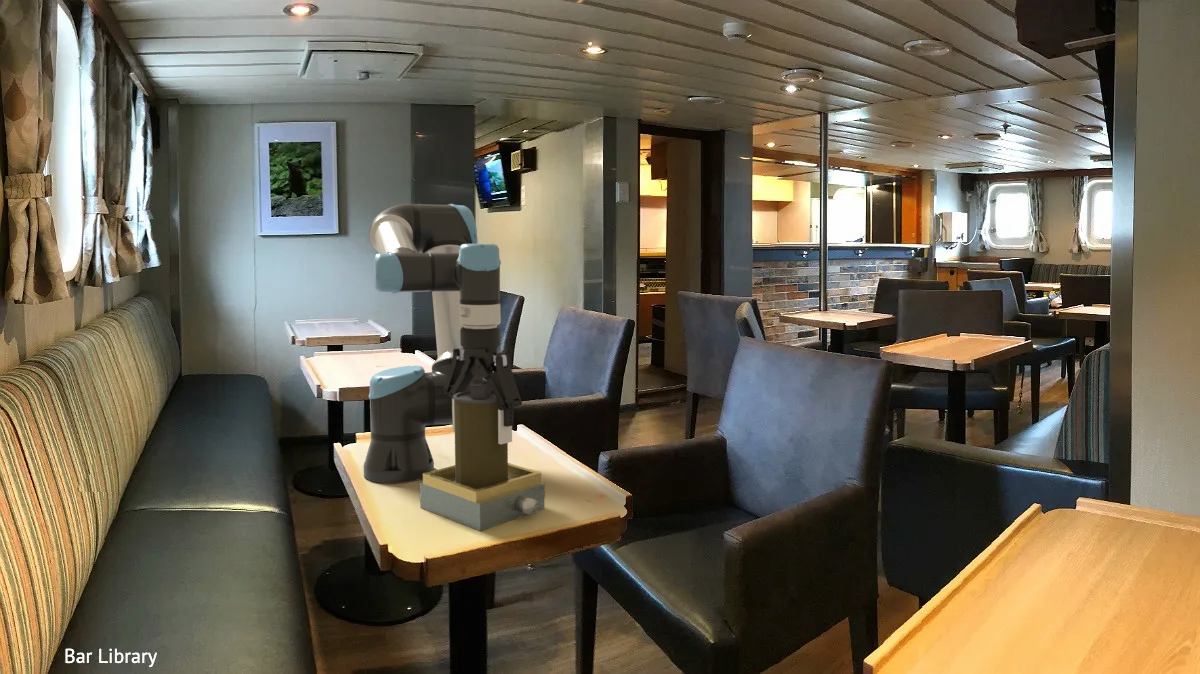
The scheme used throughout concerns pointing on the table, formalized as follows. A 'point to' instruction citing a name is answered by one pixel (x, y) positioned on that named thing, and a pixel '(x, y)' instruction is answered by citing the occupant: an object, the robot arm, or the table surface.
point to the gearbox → (483, 497)
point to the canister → (478, 438)
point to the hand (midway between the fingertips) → (481, 436)
